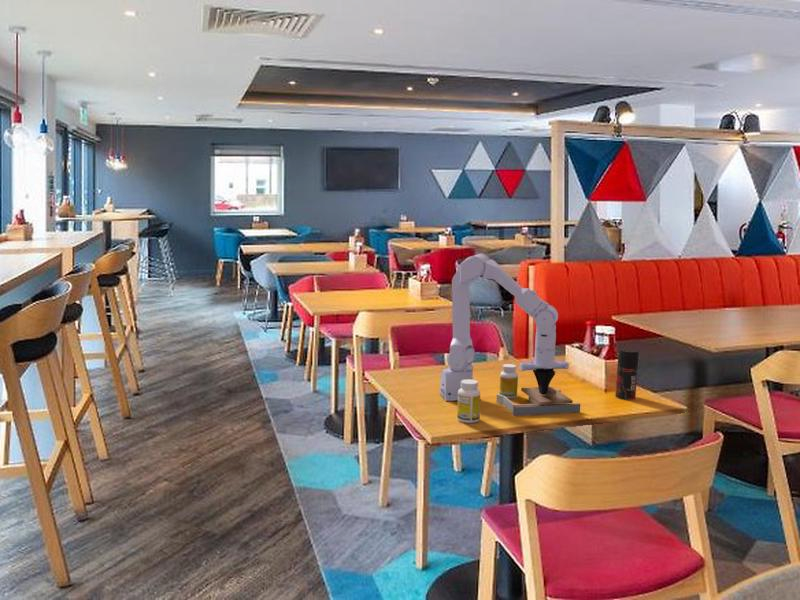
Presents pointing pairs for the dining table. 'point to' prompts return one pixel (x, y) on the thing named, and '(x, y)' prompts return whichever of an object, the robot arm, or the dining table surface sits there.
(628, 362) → the deodorant
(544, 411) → the socket
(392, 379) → the dining table surface
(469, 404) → the pill bottle
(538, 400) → the cover
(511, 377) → the supplement bottle
